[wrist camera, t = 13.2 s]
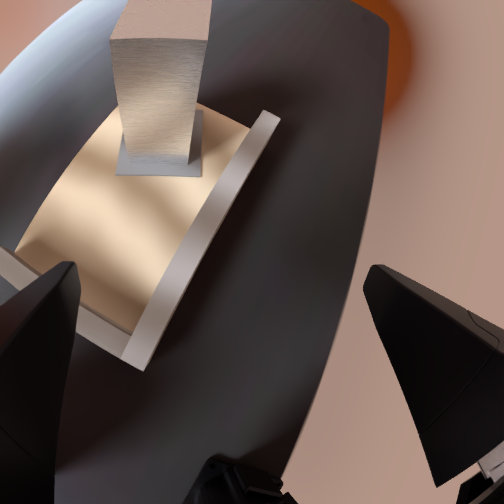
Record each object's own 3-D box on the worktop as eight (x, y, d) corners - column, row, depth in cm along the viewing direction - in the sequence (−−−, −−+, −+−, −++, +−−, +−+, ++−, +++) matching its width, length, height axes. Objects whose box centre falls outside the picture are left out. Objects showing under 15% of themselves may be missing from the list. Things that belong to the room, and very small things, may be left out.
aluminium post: (187, 164, 23) (207, 40, 11) (129, 163, 21) (109, 39, 10) (190, 118, 24) (212, -3, 12) (137, 117, 22) (131, -5, 11)
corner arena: (148, 363, 20) (143, 371, 16) (11, 272, 18) (-15, 261, 15) (266, 145, 26) (280, 118, 22) (143, 86, 25) (142, 56, 21)
